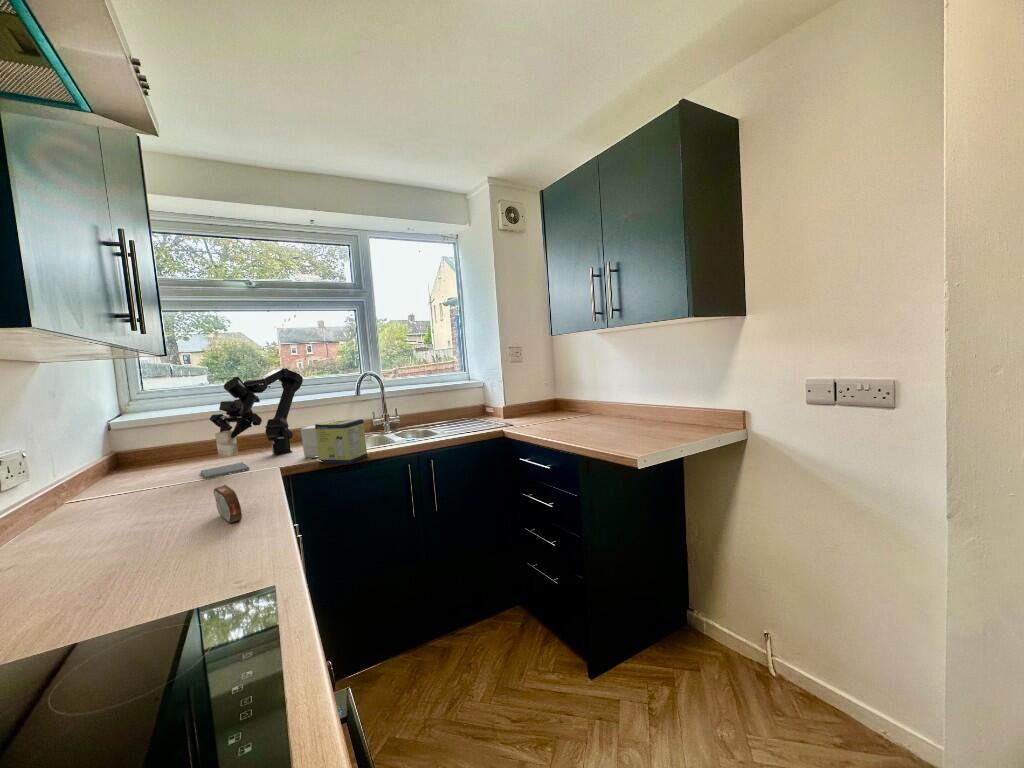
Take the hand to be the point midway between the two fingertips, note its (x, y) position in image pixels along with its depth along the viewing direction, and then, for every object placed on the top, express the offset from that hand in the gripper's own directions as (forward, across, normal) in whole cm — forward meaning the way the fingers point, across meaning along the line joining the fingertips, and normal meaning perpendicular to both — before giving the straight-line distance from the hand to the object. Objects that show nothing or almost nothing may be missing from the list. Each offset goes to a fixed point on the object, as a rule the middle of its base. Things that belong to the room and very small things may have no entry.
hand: (226, 438), depth 163 cm
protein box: (+2, +40, +18) cm, 44 cm away
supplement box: (-5, +22, +25) cm, 34 cm away
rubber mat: (+8, -4, +11) cm, 14 cm away
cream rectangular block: (+5, 0, +5) cm, 7 cm away
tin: (+42, +40, -24) cm, 63 cm away
